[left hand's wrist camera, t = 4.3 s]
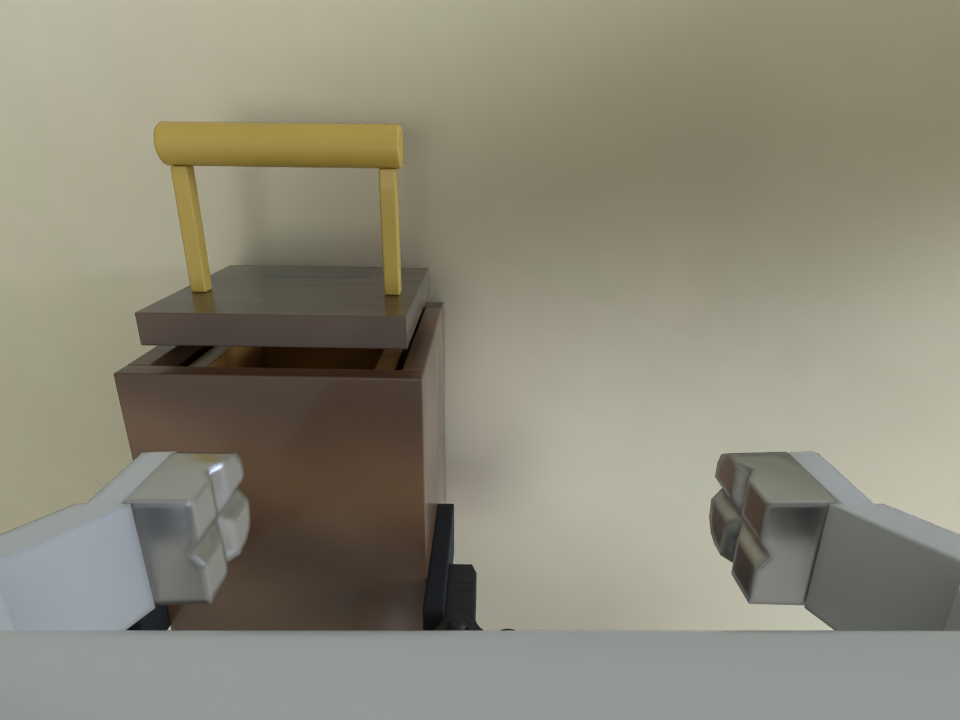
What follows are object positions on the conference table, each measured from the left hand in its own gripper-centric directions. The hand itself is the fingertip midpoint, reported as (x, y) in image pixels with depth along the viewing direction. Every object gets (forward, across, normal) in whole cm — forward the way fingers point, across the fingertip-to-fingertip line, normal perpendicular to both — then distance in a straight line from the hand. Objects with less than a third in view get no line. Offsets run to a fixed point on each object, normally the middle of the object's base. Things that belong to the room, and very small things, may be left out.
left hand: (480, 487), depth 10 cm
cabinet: (+20, -7, -9) cm, 23 cm away
